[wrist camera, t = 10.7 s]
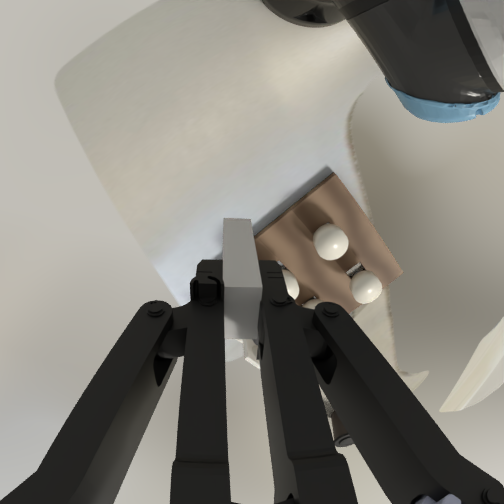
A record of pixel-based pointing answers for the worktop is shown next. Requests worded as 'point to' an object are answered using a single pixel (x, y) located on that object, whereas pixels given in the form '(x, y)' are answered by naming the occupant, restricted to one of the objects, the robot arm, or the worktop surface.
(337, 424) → the coffee cup
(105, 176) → the worktop surface
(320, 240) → the button
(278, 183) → the worktop surface
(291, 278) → the button
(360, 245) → the board
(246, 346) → the card
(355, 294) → the button
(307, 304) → the button
